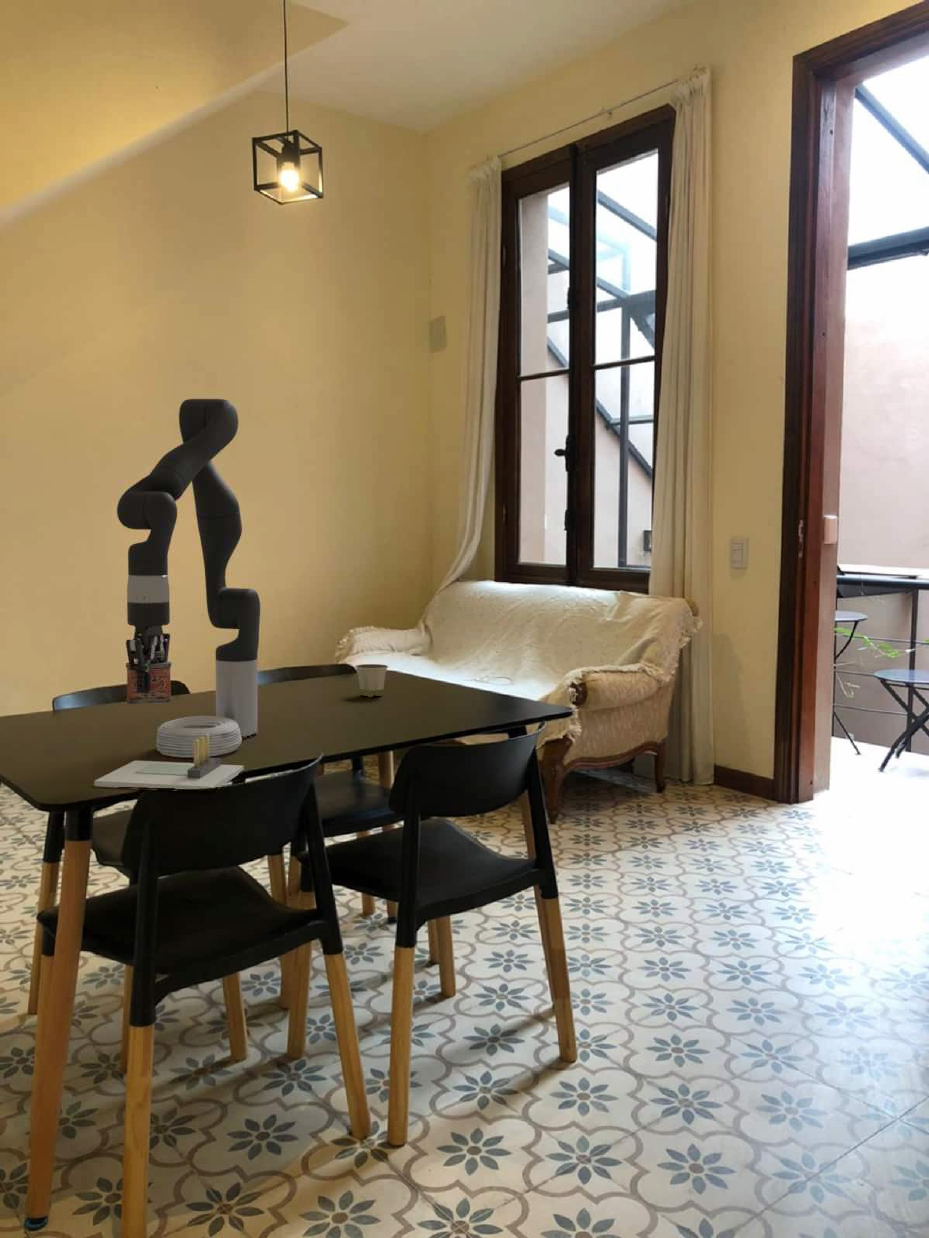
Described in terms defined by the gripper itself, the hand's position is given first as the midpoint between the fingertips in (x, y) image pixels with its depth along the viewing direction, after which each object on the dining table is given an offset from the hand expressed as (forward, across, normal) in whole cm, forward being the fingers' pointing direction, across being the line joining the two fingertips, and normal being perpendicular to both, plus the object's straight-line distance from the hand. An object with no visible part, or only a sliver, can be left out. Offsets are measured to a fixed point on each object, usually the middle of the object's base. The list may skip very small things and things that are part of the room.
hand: (149, 690), depth 182 cm
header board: (+16, -2, -5) cm, 17 cm away
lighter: (+2, 0, 0) cm, 2 cm away
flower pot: (+16, +97, -21) cm, 100 cm away
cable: (+17, +22, -1) cm, 27 cm away
